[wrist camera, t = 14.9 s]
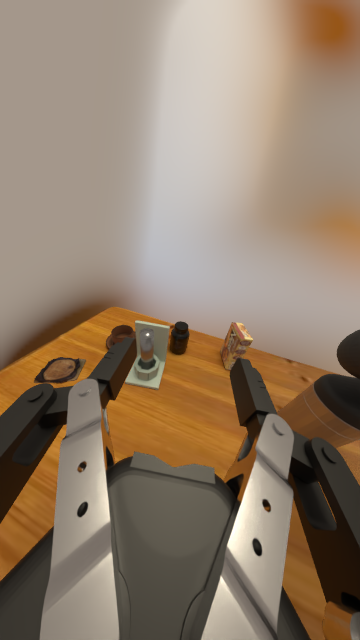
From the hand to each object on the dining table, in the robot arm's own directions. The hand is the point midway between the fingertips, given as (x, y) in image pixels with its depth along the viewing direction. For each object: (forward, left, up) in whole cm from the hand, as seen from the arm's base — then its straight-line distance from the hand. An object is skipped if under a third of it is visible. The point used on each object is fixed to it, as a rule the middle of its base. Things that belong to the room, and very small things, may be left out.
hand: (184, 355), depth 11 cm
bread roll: (+14, -34, -33) cm, 49 cm away
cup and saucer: (-5, -36, -32) cm, 49 cm away
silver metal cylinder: (-7, -20, -31) cm, 37 cm away
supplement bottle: (-22, -23, -32) cm, 45 cm away
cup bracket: (-7, -20, -32) cm, 38 cm away
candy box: (-35, -8, -32) cm, 48 cm away
